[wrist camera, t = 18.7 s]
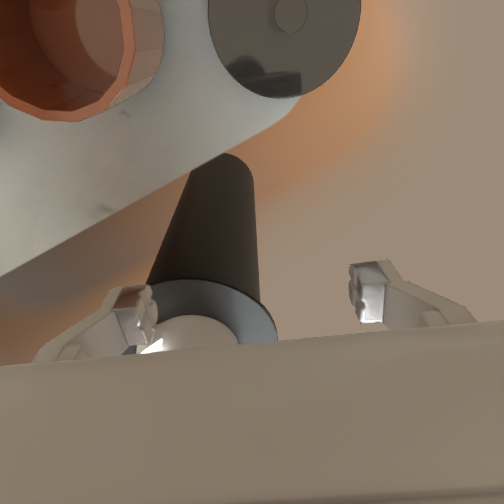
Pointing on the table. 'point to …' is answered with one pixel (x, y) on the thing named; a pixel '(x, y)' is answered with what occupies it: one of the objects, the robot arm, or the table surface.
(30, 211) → the table surface
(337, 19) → the jar lid
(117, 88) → the jar
